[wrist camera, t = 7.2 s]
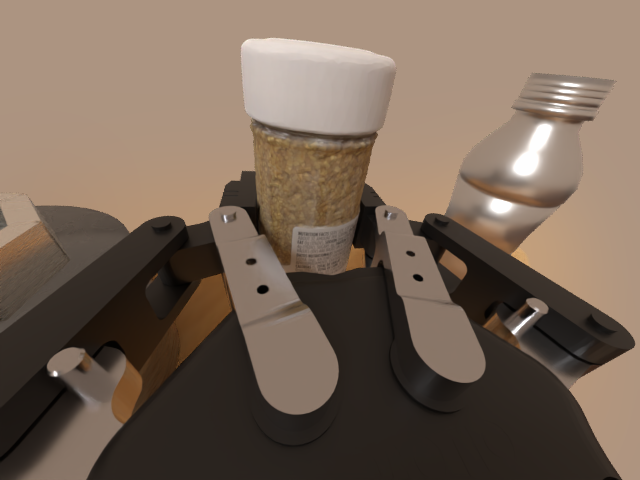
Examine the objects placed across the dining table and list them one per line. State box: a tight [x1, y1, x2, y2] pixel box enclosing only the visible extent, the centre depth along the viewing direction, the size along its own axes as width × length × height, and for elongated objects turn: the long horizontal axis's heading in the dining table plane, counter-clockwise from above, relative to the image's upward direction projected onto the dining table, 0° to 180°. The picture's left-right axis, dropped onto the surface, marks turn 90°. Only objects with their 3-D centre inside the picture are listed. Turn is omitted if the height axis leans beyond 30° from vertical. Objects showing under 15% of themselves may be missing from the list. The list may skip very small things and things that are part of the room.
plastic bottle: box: [440, 73, 616, 280], centre depth 19 cm, size 6×7×20 cm
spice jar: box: [241, 38, 396, 275], centre depth 11 cm, size 5×5×14 cm
